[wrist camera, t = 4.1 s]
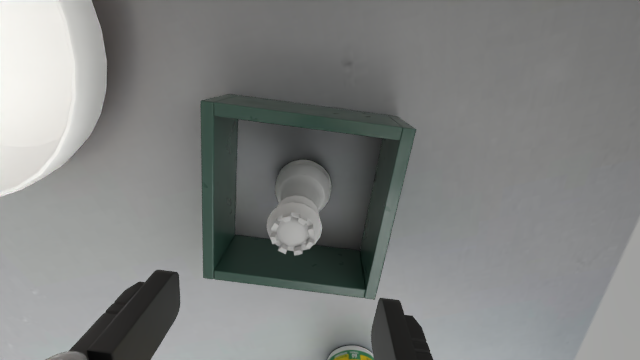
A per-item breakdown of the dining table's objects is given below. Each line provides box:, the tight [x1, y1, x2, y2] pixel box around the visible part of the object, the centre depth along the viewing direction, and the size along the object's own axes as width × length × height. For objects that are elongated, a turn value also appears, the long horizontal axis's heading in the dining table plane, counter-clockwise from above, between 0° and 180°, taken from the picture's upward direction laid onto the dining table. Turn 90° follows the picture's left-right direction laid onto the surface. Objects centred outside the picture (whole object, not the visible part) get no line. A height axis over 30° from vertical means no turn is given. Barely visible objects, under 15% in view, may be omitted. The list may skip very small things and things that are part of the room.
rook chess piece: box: [267, 160, 332, 256], centre depth 20 cm, size 4×4×8 cm
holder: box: [201, 94, 416, 299], centre depth 22 cm, size 13×13×5 cm
